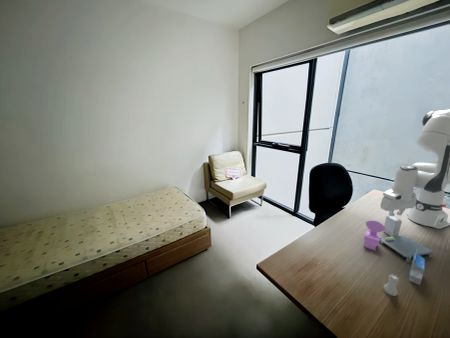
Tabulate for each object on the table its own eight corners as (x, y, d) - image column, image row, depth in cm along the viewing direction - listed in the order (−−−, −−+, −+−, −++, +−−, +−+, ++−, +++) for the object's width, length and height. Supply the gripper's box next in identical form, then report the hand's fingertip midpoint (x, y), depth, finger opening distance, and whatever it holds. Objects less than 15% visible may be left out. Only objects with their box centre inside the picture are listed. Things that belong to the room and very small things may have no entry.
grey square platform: (400, 239, 110) (402, 233, 109) (434, 259, 95) (436, 253, 94) (376, 242, 107) (377, 237, 106) (406, 263, 92) (408, 257, 91)
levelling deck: (403, 236, 108) (404, 232, 107) (432, 253, 95) (434, 248, 94) (379, 240, 106) (380, 236, 105) (405, 258, 93) (407, 253, 92)
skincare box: (398, 238, 111) (403, 220, 107) (391, 239, 110) (396, 221, 107) (387, 232, 117) (392, 215, 113) (381, 233, 116) (386, 215, 113)
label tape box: (420, 286, 80) (428, 263, 77) (407, 280, 83) (414, 257, 80) (420, 274, 86) (428, 252, 83) (408, 269, 89) (416, 247, 86)
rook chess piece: (380, 287, 80) (384, 272, 78) (389, 286, 80) (394, 271, 78) (389, 297, 76) (394, 281, 74) (399, 296, 76) (405, 280, 74)
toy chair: (359, 247, 104) (365, 223, 100) (362, 239, 110) (367, 217, 106) (378, 254, 99) (385, 229, 95) (380, 245, 105) (386, 222, 101)
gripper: (410, 190, 110) (404, 210, 114) (380, 192, 107) (375, 214, 111) (422, 194, 104) (415, 216, 108) (392, 197, 101) (386, 220, 105)
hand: (395, 215), depth 109 cm, fingers open, 4 cm apart
